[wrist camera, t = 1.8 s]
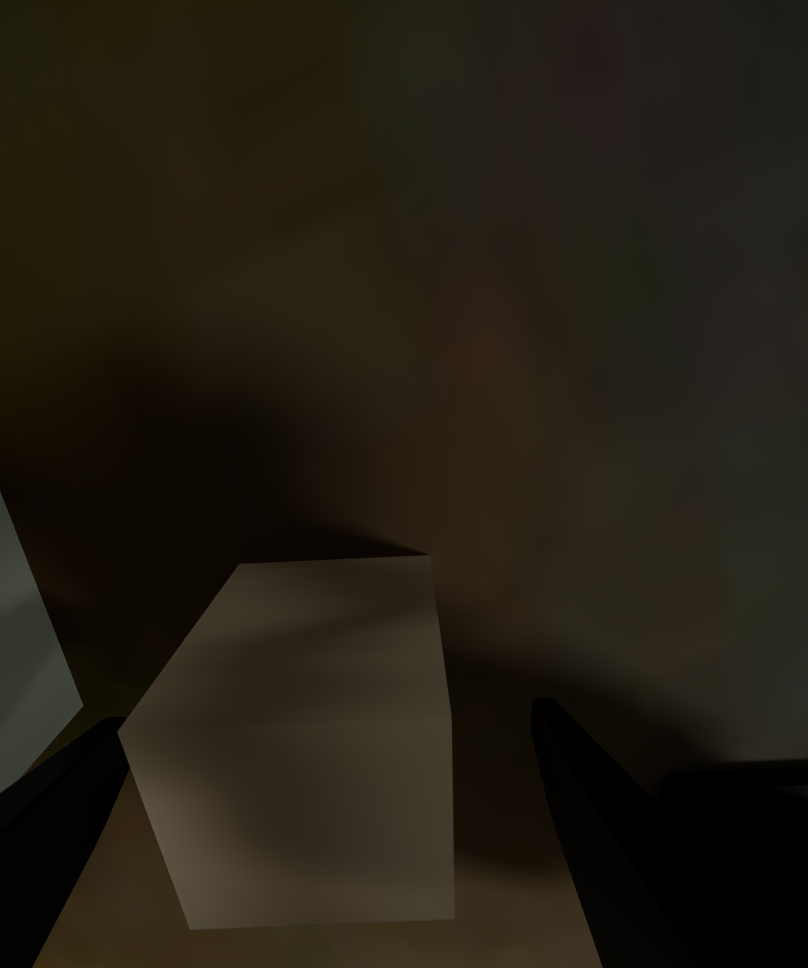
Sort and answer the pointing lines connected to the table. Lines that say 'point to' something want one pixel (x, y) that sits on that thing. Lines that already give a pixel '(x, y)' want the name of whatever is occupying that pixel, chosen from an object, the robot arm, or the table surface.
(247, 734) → the maple cube
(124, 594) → the table surface
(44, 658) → the foundation slab
